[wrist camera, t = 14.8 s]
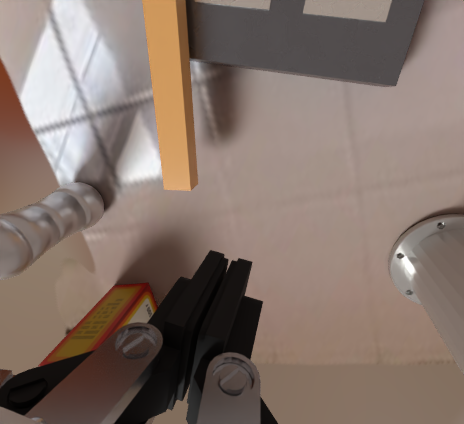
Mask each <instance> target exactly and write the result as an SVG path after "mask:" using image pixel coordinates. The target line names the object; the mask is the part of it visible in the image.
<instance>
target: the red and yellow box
mask: <svg viewBox="0 0 464 424" xmlns="http://www.w3.org/2000/svg"><path fill="white" fill-rule="evenodd" d="M157 308H158V307H157V304H156V302H155V299H154V296H153V294H152V291H151V288H150V286H149V283H140V284H127V285H114V286H113V287H112V288H111V289H110V290H109V291H108V292H107V293H106V295H105V296H104V297H103V298H102V299H101V300H100V301H99V302H98V303H97V304H96V305H95V306H94V307H93V308H92V309H91V310H90V311H89V313H88V314H87V315H86V316H85V317H84V318H83V319H82V320H81V321H80V322H79V323H78V324H77V325H76V326H75V327H74V328H73V329H72V330H71V332H70V333H69V334H68V335H67V336H66V337H65V338H64V339H63V340H62V341H61V342H60V343H59V344H58V345H57V346H56V347H55V349H54V350H53V351H52V352H51V353H50V354H49V355H48V356H47V357H46V358H45V359H44V360H43V361H42V362H41V364H39V365H38V366H43V365H46V364H49V363H53V362H56V361H59V360H63V359H66V358H70V357H73V356H76V355H80V354H83V353H86V352H90V351H93V350H96V349H97V348H98V347H99V346H100V345H101V344H103V343H104V342H105V341H106V340H107V339H108V338H109V337H110V336H111V335H112V334H113V333H114V332H116V331H117V330H118V329H120V328H121V327H122V326H125V325H127V324H130V323H136V322H143V323H147V322H148V321H149V319H150V318H151V317H152V315H153V314H154V312H155V311H156V310H157Z"/></svg>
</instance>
